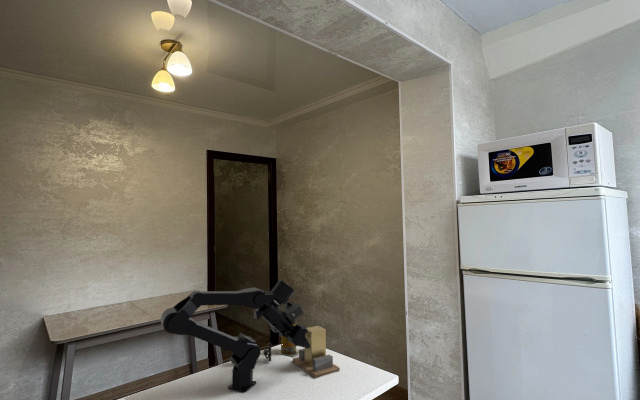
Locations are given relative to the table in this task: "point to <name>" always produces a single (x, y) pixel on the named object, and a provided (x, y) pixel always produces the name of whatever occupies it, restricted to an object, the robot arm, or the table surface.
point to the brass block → (315, 344)
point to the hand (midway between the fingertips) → (302, 343)
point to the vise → (317, 364)
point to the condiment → (288, 347)
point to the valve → (267, 352)
